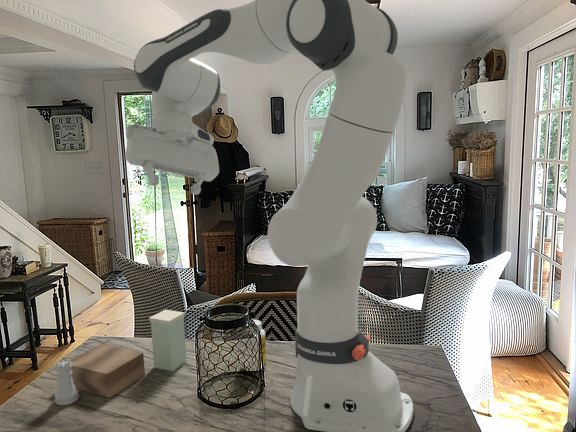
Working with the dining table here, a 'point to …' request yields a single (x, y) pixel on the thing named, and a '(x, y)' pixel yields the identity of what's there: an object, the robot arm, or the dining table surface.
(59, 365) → the rook chess piece
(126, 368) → the walnut block
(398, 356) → the dining table surface
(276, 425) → the dining table surface
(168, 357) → the sage tin
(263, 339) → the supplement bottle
